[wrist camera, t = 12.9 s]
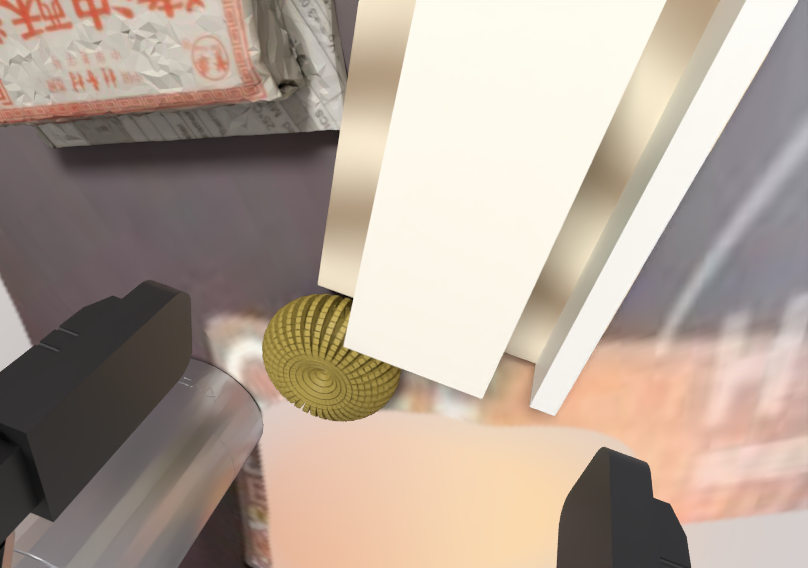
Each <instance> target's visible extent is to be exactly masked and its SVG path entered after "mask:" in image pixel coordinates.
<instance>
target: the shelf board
mask: <svg viewBox="0 0 808 568" xmlns="http://www.w3.org/2000/svg"><path fill="white" fill-rule="evenodd" d="M719 1H720V0H667V1H666V3H665V5H664V7H663V9H662V11H661V14H660V16H659V18H658V20H657V22H656V24H655V26H654V29H653V31H652V33H651V35H650V37H649V39H648V42H647V44H646V46H645V48H644V50H643V52H642V55H641V57H640V59H639V61H638V63H637V65H636V68H635V70H634V72H633V74H632V76H631V78H630V81H629V83H628V85H627V87H626V89H625V91H624V93H623V96H622V98H621V100H620V102H619V104H618V106H617V109H616V111H615V113H614V115H613V117H612V119H611V122H610V124H609V126H608V128H607V130H606V132H605V135H604V137H603V139H602V141H601V143H600V145H599V148H598V150H597V152H596V154H595V156H594V158H593V160H592V163H591V165H590V167H589V169H588V171H587V173H586V176H585V178H584V180H583V182H582V184H581V186H580V189H579V191H578V193H577V195H576V197H575V199H574V202H573V204H572V206H571V208H570V210H569V212H568V215H567V217H566V219H565V221H564V223H563V225H562V228H561V230H560V232H559V234H558V236H557V238H556V240H555V243H554V245H553V247H552V249H551V251H550V253H549V256H548V258H547V260H546V262H545V264H544V266H543V269H542V271H541V273H540V275H539V277H538V279H537V282H536V284H535V286H534V288H533V290H532V292H531V295H530V297H529V299H528V301H527V303H526V305H525V307H524V310H523V312H522V314H521V316H520V318H519V320H518V323H517V325H516V327H515V329H514V331H513V333H512V336H511V338H510V340H509V342H508V344H507V346H506V349H505V351H504V352H505V353H508V354H511V355H513V356H516V357H519V358H522V359H524V360H527V361H530V362H533V363H535V364H536V362H537V360H538V358H539V356H540V354H541V352H542V350H543V348H544V346H545V344H546V342H547V340H548V338H549V336H550V334H551V332H552V330H553V328H554V326H555V324H556V322H557V321H558V319H559V317H560V315H561V313H562V311H563V309H564V307H565V305H566V303H567V301H568V299H569V297H570V295H571V293H572V291H573V289H574V287H575V285H576V283H577V281H578V279H579V277H580V275H581V273H582V271H583V269H584V267H585V265H586V263H587V261H588V259H589V257H590V255H591V253H592V251H593V250H594V248H595V246H596V244H597V242H598V240H599V238H600V236H601V234H602V232H603V230H604V228H605V226H606V224H607V222H608V220H609V218H610V216H611V214H612V212H613V210H614V208H615V206H616V204H617V202H618V200H619V198H620V196H621V194H622V192H623V190H624V188H625V186H626V184H627V182H628V180H629V179H630V177H631V175H632V173H633V171H634V169H635V167H636V165H637V163H638V161H639V159H640V157H641V155H642V153H643V151H644V149H645V147H646V145H647V143H648V141H649V139H650V137H651V135H652V133H653V131H654V129H655V127H656V125H657V123H658V121H659V119H660V117H661V115H662V113H663V111H664V109H665V108H666V106H667V104H668V102H669V100H670V98H671V96H672V94H673V92H674V90H675V88H676V86H677V84H678V82H679V80H680V78H681V76H682V74H683V72H684V70H685V68H686V66H687V64H688V62H689V60H690V58H691V56H692V54H693V52H694V50H695V48H696V46H697V44H698V42H699V40H700V38H701V37H702V35H703V33H704V31H705V29H706V27H707V25H708V23H709V21H710V19H711V17H712V15H713V13H714V11H715V9H716V7H717V5H718V3H719ZM415 4H416V0H359V4H358V10H357V17H356V24H355V31H354V38H353V45H352V52H351V59H350V66H349V72H348V79H347V86H346V93H345V100H344V107H343V114H342V121H341V128H340V135H339V141H338V148H337V155H336V162H335V169H334V176H333V183H332V190H331V197H330V203H329V210H328V217H327V224H326V231H325V238H324V245H323V252H322V259H321V266H320V272H319V279H318V285H319V286H322V287H325V288H328V289H331V290H333V291H336V292H339V293H342V294H344V295H347V296H350V297H353V298H354V294H355V289H356V284H357V279H358V275H359V270H360V265H361V260H362V256H363V251H364V246H365V241H366V237H367V232H368V227H369V222H370V218H371V213H372V208H373V203H374V199H375V194H376V189H377V184H378V180H379V175H380V170H381V165H382V161H383V156H384V151H385V146H386V142H387V137H388V132H389V127H390V123H391V118H392V113H393V108H394V104H395V99H396V94H397V89H398V85H399V80H400V75H401V70H402V66H403V61H404V56H405V51H406V47H407V42H408V37H409V32H410V28H411V23H412V18H413V13H414V9H415Z"/></svg>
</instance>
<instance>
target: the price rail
mask: <svg viewBox="0 0 808 568" xmlns="http://www.w3.org/2000/svg"><path fill="white" fill-rule="evenodd" d="M797 2H798V0H720V1H719V3H718V5H717V7H716V9H715V11H714V13H713V15H712V17H711V19H710V21H709V23H708V25H707V27H706V29H705V31H704V33H703V35H702V37H701V38H700V40H699V42H698V44H697V46H696V48H695V50H694V52H693V54H692V56H691V58H690V60H689V62H688V64H687V66H686V68H685V70H684V72H683V74H682V76H681V78H680V80H679V82H678V84H677V86H676V88H675V90H674V92H673V94H672V96H671V98H670V100H669V102H668V104H667V106H666V108H665V109H664V111H663V113H662V115H661V117H660V119H659V121H658V123H657V125H656V127H655V129H654V131H653V133H652V135H651V137H650V139H649V141H648V143H647V145H646V147H645V149H644V151H643V153H642V155H641V157H640V159H639V161H638V163H637V165H636V167H635V169H634V171H633V173H632V175H631V177H630V179H629V180H628V182H627V184H626V186H625V188H624V190H623V192H622V194H621V196H620V198H619V200H618V202H617V204H616V206H615V208H614V210H613V212H612V214H611V216H610V218H609V220H608V222H607V224H606V226H605V228H604V230H603V232H602V234H601V236H600V238H599V240H598V242H597V244H596V246H595V248H594V250H593V251H592V253H591V255H590V257H589V259H588V261H587V263H586V265H585V267H584V269H583V271H582V273H581V275H580V277H579V279H578V281H577V283H576V285H575V287H574V289H573V291H572V293H571V295H570V297H569V299H568V301H567V303H566V305H565V307H564V309H563V311H562V313H561V315H560V317H559V319H558V321H557V322H556V324H555V326H554V328H553V330H552V332H551V334H550V336H549V338H548V340H547V342H546V344H545V346H544V348H543V350H542V352H541V354H540V356H539V358H538V360H537V362H536V365H535V372H534V378H533V385H532V392H531V399H530V406H529V407H531V408H534V409H537V410H540V411H542V412H545V413H548V414H550V415H553V416H555V415H556V413H557V412H558V410H559V408H560V406H561V405H562V403H563V401H564V400H565V398H566V396H567V395H568V393H569V391H570V389H571V388H572V386H573V384H574V383H575V381H576V379H577V377H578V376H579V374H580V372H581V371H582V369H583V367H584V365H585V364H586V362H587V360H588V359H589V357H590V355H591V354H592V352H593V350H594V348H595V347H596V345H597V343H598V342H599V340H600V338H601V336H602V335H603V333H604V332H605V330H606V329H607V327H608V325H609V324H610V322H611V320H612V319H613V317H614V315H615V313H616V312H617V310H618V308H619V307H620V305H621V303H622V301H623V300H624V298H625V296H626V295H627V293H628V291H629V290H630V288H631V286H632V284H633V283H634V281H635V279H636V278H637V276H638V274H639V272H640V271H641V268H642V266H643V265H644V263H645V261H646V260H647V258H648V256H649V255H650V253H651V251H652V249H653V248H654V246H655V244H656V243H657V241H658V239H659V237H660V236H661V234H662V232H663V231H664V229H665V227H666V226H667V224H668V222H669V220H670V219H671V217H672V215H673V214H674V212H675V210H676V208H677V207H678V205H679V203H680V202H681V200H682V198H683V196H684V195H685V193H686V191H687V190H688V188H689V186H690V185H691V183H692V181H693V179H694V178H695V176H696V174H697V173H698V171H699V169H700V167H701V166H702V164H703V162H704V161H705V159H706V157H707V156H708V154H709V153H710V151H711V150H712V148H713V146H714V145H715V143H716V141H717V140H718V138H719V136H720V134H721V133H722V131H723V129H724V128H725V126H726V124H727V122H728V121H729V119H730V117H731V116H732V114H733V112H734V111H735V109H736V107H737V105H738V104H739V102H740V100H741V99H742V97H743V95H744V93H745V92H746V90H747V88H748V87H749V85H750V83H751V82H752V80H753V78H754V76H755V75H756V73H757V71H758V70H759V68H760V66H761V64H762V63H763V61H764V59H765V58H766V56H767V54H768V53H769V50H770V48H771V46H772V45H773V43H774V41H775V39H776V38H777V36H778V34H779V33H780V31H781V29H782V28H783V26H784V24H785V22H786V21H787V19H788V17H789V16H790V14H791V12H792V10H793V9H794V7H795V5H796V4H797Z"/></svg>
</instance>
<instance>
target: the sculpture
mask: <svg viewBox="0 0 808 568" xmlns="http://www.w3.org/2000/svg"><path fill="white" fill-rule="evenodd" d="M352 303H353V301H352V300H351V299H347V298H344V299H343V297H341V296H338V295H330V294H328V295H327V294H325V295H324V294H321V295H319V294H313V295H310V296H304V297H301V298H298V300H297V299H296V300H293V301H291V302H290V303H288V304H286V305H285V306H284V307H283V308H281V309H280V310H279V311H278V312H277V313H276V314H275V316H274V317H273V318H272V319H271V322H270V323H269V324H268V327H267V329H266V331H265V334H264V340H263V344H262V351H263V355H262V356H263V360H264V365H265V366H266V367H265V369H266V370H267V373H268V376H269V378H270V380H271V381H272V382H273V383H274V386H275V387H276V389H277V390H279V392H280V393H281V394H282V396H284V397H286V399H287V400H288V401H290V403H295V401H296V403H295V404H294V406H296V407H297V408H301V406H302V405H303V404H304V403H305V402H306V403H305V405H304V408H303V411H304V412H306V413H308V412H309V410H310V413H311V415H313V416H319V417H320V418H323V419H329V420H332V421H351V420H352V421H354V420H357V419H362V418H365V417H367V416H369V415H372V414H374V413H375V412H377V411H379V410H378V409H381V408H382V407H384V406H385V404H386V403H387V402H388V401H389V400H390V399H391V398H392V396H393V394H394V393H395V390H396V388H397V385H398V383H399V380H400V379H399V378H400V374H401V368H399V367H396V366H393V365H391V364H388V363H385V362H383V361H380V360H377V359H375V358H372V357H370V356H367V355H364V354H362V353H359V352H356V351H354V350H351V349H348V348H346V347H343V346H344V341H345V336H346V332H347V327H348V322H349V317H350V313H351V308H352ZM345 308H346V311H345ZM345 312H346V313H345ZM291 365H292V366H291ZM371 370H372V371H371ZM371 393H372V394H371ZM370 398H371V399H370Z"/></svg>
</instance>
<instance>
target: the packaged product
mask: <svg viewBox="0 0 808 568" xmlns="http://www.w3.org/2000/svg"><path fill="white" fill-rule="evenodd" d="M347 79H348V78H347V73H346V67H345V62H344V56H343V51H342V45H341V40H340V36H339V29H338V23H337V17H336V11H335V5H334V0H0V127H7V126H9V125H14V126H17V125H22V124H23V125H29V126H33V127H34V126H36V129H37V136H38V137H39V138H40V139H41V140H42V141H43V142H44V143H45V144H46V145H48V146H49V147H50V148H59V147H67V146H69V147H70V146H84V145H98V144H112V143H126V142H129V143H132V142H144V141H170V140H179V139H197V138H208V137H226V136H234V135H262V134H276V133H295V132H311V131H319V130H340V128H341V121H342V114H343V107H344V100H345V93H346V86H347Z"/></svg>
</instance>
